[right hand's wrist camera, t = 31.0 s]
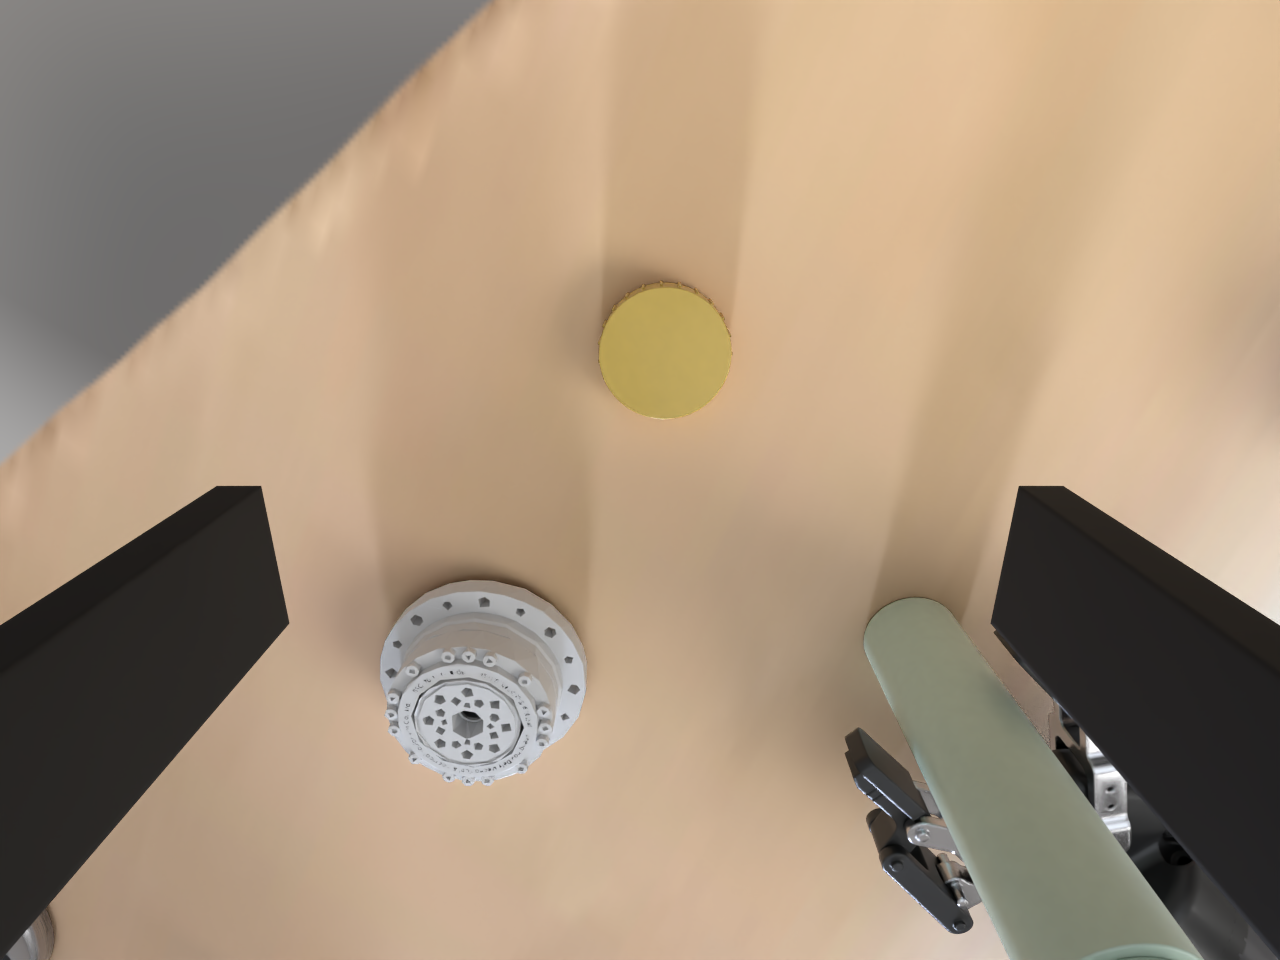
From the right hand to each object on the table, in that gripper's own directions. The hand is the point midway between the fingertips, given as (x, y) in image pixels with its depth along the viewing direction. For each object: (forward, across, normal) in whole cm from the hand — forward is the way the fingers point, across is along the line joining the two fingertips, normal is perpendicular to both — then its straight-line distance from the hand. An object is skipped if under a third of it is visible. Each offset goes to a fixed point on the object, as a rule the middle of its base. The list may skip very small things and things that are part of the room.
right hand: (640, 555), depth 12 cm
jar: (+18, +13, -14) cm, 26 cm away
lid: (+17, +1, 0) cm, 17 cm away
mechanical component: (+19, -8, -16) cm, 25 cm away
